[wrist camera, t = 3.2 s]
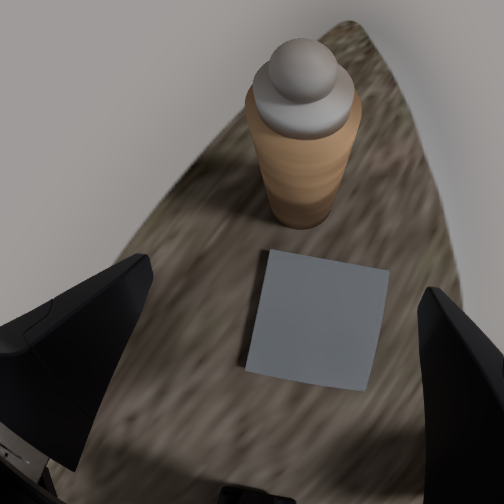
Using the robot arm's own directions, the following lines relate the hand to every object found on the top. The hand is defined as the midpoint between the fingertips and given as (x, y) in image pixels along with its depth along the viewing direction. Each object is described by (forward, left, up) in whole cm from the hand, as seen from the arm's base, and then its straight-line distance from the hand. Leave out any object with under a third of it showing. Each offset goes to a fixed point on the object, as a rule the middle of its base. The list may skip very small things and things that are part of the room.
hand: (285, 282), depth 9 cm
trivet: (-1, -2, -13) cm, 14 cm away
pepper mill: (+8, +1, -13) cm, 15 cm away
